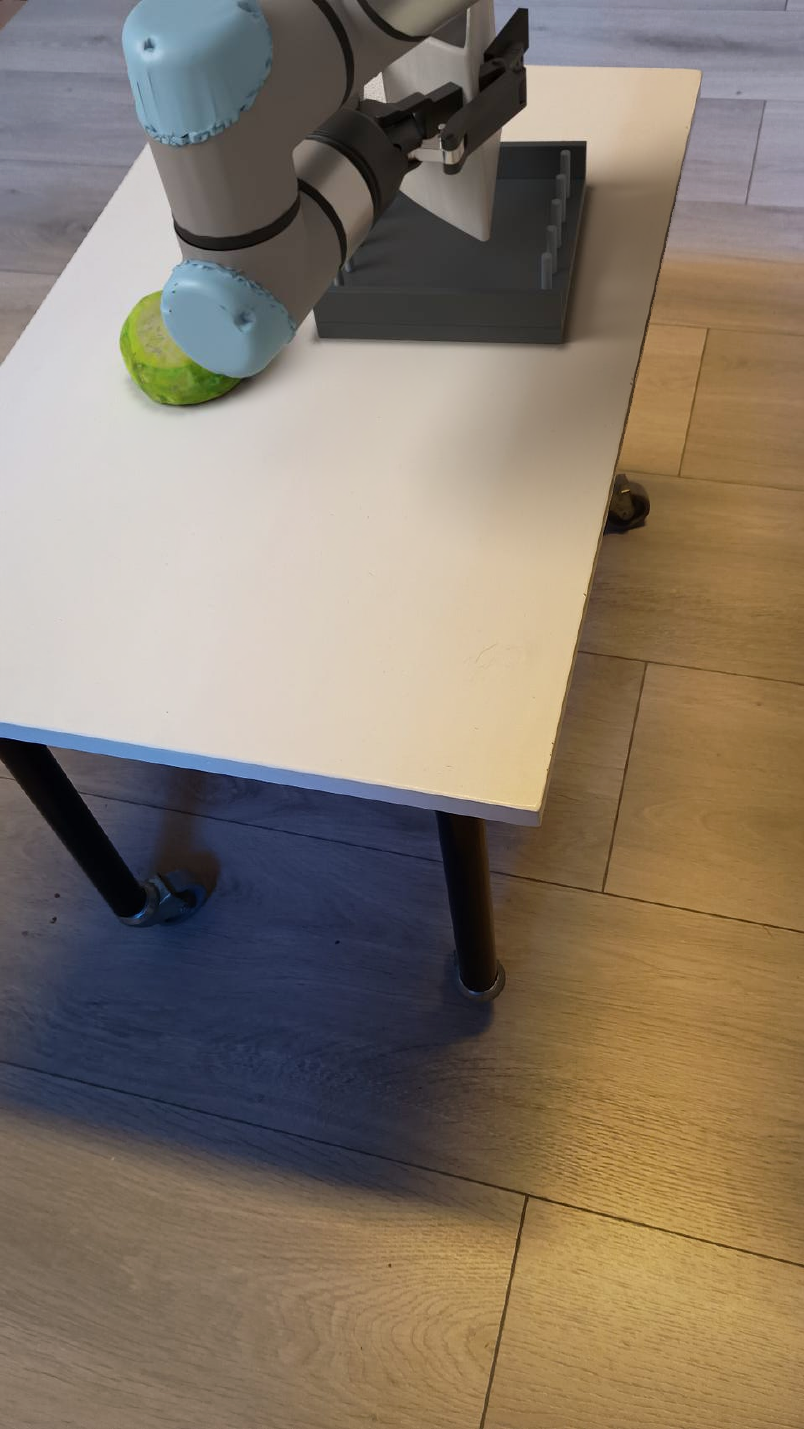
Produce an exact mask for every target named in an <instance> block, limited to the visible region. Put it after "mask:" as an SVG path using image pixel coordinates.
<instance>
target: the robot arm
mask: <svg viewBox="0 0 804 1429" xmlns="http://www.w3.org/2000/svg"><path fill="white" fill-rule="evenodd" d="M478 1H480V0H141V1H139V2H138V3H137V4H136V5H135V6H134V7H133V8H132V10H131V11H130V13H129V14H128V15H127V18H126V20H125V22H124V24H123V27H122V34H121V44H122V50H123V56H124V59H125V64H126V69H127V71H126V72H127V77H128V80H129V83H130V86H131V88H130V89H131V92H132V95H133V99H134V100H133V105H134V108H135V112H136V115H137V119H138V121H139V122H140V124H141V127H142V128H143V132H144V134H145V137H146V139H147V142H148V145H149V148H150V151H151V154H152V158H153V160H154V163H155V166H156V169H157V171H158V174H159V177H160V180H161V184H162V186H163V189H164V192H165V195H166V198H167V201H168V205H169V207H170V213H171V217H172V223H173V224H172V225H173V226H172V227H173V230H174V233H175V236H176V240H177V243H178V246H179V248H180V252H181V256H182V257H181V262H180V263H179V264H176V265H175V266H173V268H172V273H171V274H170V276H169V278H168V280H167V281H166V282H165V284H164V286H162V290H163V291H162V296H161V306H160V309H161V315H162V319H163V322H164V324H165V327H166V329H167V331H168V332H169V334H170V336H171V337H172V339H173V340H174V342H175V343H176V344H177V345H178V347H179V348H180V349H181V350H182V351H183V352H184V353H185V354H186V355H187V356H188V357H189V358H191V359H192V360H193V361H194V362H196V363H197V364H199V365H200V366H202V367H203V368H205V369H207V370H209V371H211V372H213V373H216V374H224V375H226V376H229V377H236V378H242V379H243V378H248V377H252V376H255V375H256V374H259V373H260V372H261V371H263V370H264V369H265V368H267V366H268V365H269V364H270V362H272V360H273V359H274V358H275V357H276V356H277V355H278V354H279V353H280V351H282V350H283V348H284V347H285V346H286V345H288V344H290V343H291V342H292V341H293V340H294V338H295V337H296V334H297V331H298V329H300V328H301V326H302V324H303V323H304V321H305V320H306V319H307V317H308V316H309V314H310V313H311V312H312V311H313V307H314V306H315V305H316V303H317V302H318V301H319V299H320V298H321V297H322V295H323V294H324V293H325V291H326V290H327V288H328V287H329V286H330V284H331V283H332V282H333V280H334V279H335V278H336V276H337V274H338V273H339V272H340V270H342V268H343V267H344V266H345V264H346V263H347V262H348V260H349V259H350V258H351V256H352V255H353V254H354V252H355V251H356V250H357V248H358V247H359V246H360V244H361V243H362V242H363V240H364V239H365V238H366V236H367V234H368V232H369V231H371V230H372V229H373V228H374V226H375V225H376V224H377V222H378V221H379V220H380V218H381V217H382V216H383V214H384V213H385V212H386V210H387V209H388V208H389V206H390V205H391V204H392V202H393V201H394V199H395V197H396V196H397V193H398V191H399V188H400V186H401V183H402V181H403V178H404V176H405V175H406V174H407V173H409V172H410V171H412V170H414V169H416V168H418V167H419V166H420V165H421V164H422V162H423V161H428V162H441V163H443V172H444V173H445V174H447V175H455V174H457V173H459V172H460V171H461V169H462V167H463V165H464V163H465V161H466V159H467V157H468V156H469V155H470V154H471V153H473V152H474V151H475V150H476V149H477V148H478V147H480V146H481V145H482V144H483V143H484V142H485V141H487V140H488V139H489V138H490V137H491V136H492V135H494V134H495V133H496V132H497V131H498V130H499V129H501V128H502V129H503V127H504V126H505V125H506V124H508V123H509V122H510V121H511V120H512V119H514V118H515V117H516V116H517V115H519V113H521V112H522V111H523V110H524V109H525V108H526V107H527V106H528V83H527V81H528V80H527V79H528V78H527V67H526V66H525V61H524V60H525V57H524V56H525V54H526V53H527V51H528V50H529V48H530V33H529V32H530V30H529V29H530V27H529V26H530V24H529V23H530V22H529V8H527V7H518V8H517V9H516V10H515V12H514V13H513V14H512V15H511V17H510V18H509V19H508V21H507V22H506V23H505V24H504V25H503V27H502V28H501V30H500V31H499V32H498V34H496V38H495V39H494V40H493V41H492V43H491V44H490V45H489V47H488V48H487V49H486V51H485V52H484V64H482V65H480V69H479V77H478V80H479V92H480V94H478V95H477V96H476V97H475V98H474V99H472V100H471V101H470V102H469V103H467V104H466V105H465V106H464V107H463V93H462V87H461V86H459V85H457V84H455V83H453V82H451V81H450V82H448V83H447V84H445V85H443V86H441V87H439V88H437V89H435V90H434V91H432V92H430V93H428V94H426V95H424V94H422V93H420V92H415V93H413V94H411V95H410V96H408V97H406V98H404V99H402V100H400V101H398V102H396V103H386V102H384V101H381V100H377V99H373V98H372V99H371V98H368V99H365V100H364V97H365V86H366V85H368V83H370V82H371V81H372V80H374V78H377V77H378V76H379V74H381V71H383V70H384V69H385V68H387V67H388V66H389V65H390V64H392V63H393V62H395V61H396V60H397V59H399V58H400V57H402V56H403V55H405V54H406V53H407V52H409V51H410V50H412V49H413V48H415V47H416V46H417V45H419V44H420V43H422V42H423V41H425V40H426V39H427V38H429V37H430V36H431V35H432V34H433V33H434V32H435V31H437V30H438V29H440V28H441V27H442V26H444V25H445V24H447V23H448V22H450V21H451V20H453V19H454V18H455V17H457V16H458V15H460V14H461V13H463V12H464V11H465V10H467V9H468V8H470V7H471V6H473V5H474V4H476V3H477V2H478ZM413 113H414V114H415V117H414V115H413Z"/></svg>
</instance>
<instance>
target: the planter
mask: <svg viewBox="0 0 804 1429" xmlns="http://www.w3.org/2000/svg"><path fill="white" fill-rule="evenodd" d="M496 36H497V34H496V19H495V3H494V0H480V1H478V2H477V3H476V4H474V5H473V6H471V7H470V8H468V9H467V10H465V11H464V12H463V13H461V14H460V15H458V16H457V17H455V18H454V19H453V20H451V21H450V22H448V23H447V24H445V25H444V26H442V27H441V28H440V29H438V30H437V31H435V32H434V33H433V34H432V35H431V36H430V37H429V38H427V39H426V40H425V41H423V42H422V43H420V44H419V45H417V46H416V47H415V48H413V49H412V50H410V51H409V52H407V53H406V54H405V55H403V56H402V57H400V58H399V59H397V60H396V61H395V62H393V63H392V64H390V65H389V66H388V67H387V68H385V69H384V70H383V71H381V72H380V74H381V78H382V84H383V85H382V86H383V91H384V98H385V103H396V102H398V101H400V100H402V99H404V98H406V97H408V96H410V95H411V94H413V93H415V92H420V93H422V94H424V95H426V94H428V93H430V92H432V91H434V90H435V89H437V88H439V87H441V86H443V85H445V84H447V83H448V82H450V81H451V82H453V83H455V84H457V85H459V86H461V87H462V93H463V107H464V106H465V105H466V104H467V103H469V102H470V101H471V100H472V99H474V98H475V97H476V96H477V95H478V94H480V92H479V80H478V77H479V69H480V65H482V64H484V52H485V51H486V49H487V48H488V47H489V45H490V44H491V43H492V41H493V40H494V39H495V38H496ZM413 115H414V117H415V114H414V113H413ZM502 131H503V127H502V128H501V129H499V130H498V131H497V132H496V133H495V134H494V135H492V136H491V137H490V138H489V139H488V140H487V141H485V142H484V143H483V144H482V145H481V146H480V147H478V148H477V149H476V150H475V151H474V152H473V153H471V154H470V155H469V156H468V157H467V159H466V161H465V163H464V165H463V167H462V169H461V171H460V172H459V173H457V174H455V175H447V174H445V173H444V172H443V163H441V162H428V161H423V162H422V164H421V165H420V166H419V167H418V168H416V169H414V170H412V171H410V172H409V173H407V174H406V175H405V176H404V178H403V181H402V183H401V186H400V188H399V190H400V191H402V192H403V193H404V194H406V195H407V196H408V197H409V198H411V199H412V200H413V201H415V202H416V203H417V204H419V205H421V206H422V207H424V208H425V209H427V210H429V211H430V212H432V213H433V214H435V215H436V216H438V217H440V218H441V219H443V220H445V221H446V222H448V223H450V224H452V225H453V226H455V227H457V228H459V229H460V230H462V231H464V232H466V233H467V234H469V235H471V236H473V237H475V238H476V239H478V240H480V241H483V242H484V241H487V240H488V239H489V237H490V228H491V219H492V210H493V201H494V192H495V183H496V175H497V166H498V157H499V148H500V142H501V137H502V133H503V132H502Z"/></svg>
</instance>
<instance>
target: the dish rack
mask: <svg viewBox="0 0 804 1429" xmlns="http://www.w3.org/2000/svg"><path fill="white" fill-rule="evenodd" d="M587 156H588V141H587V140H530V141H529V140H524V141H523V140H522V141H521V140H519V141H517V140H515V141H512V140H511V141H508V140H507V141H500V148H499V157H498V166H497V175H496V183H495V192H494V201H493V210H492V219H491V228H490V237H489V239H488V240H487V241H484V242H483V241H480V240H478V239H476V238H475V237H473V236H471V235H469V234H467V233H466V232H464V231H462V230H460V229H459V228H457V227H455V226H453V225H452V224H450V223H448V222H446V221H445V220H443V219H441V218H440V217H438V216H436V215H435V214H433V213H432V212H430V211H429V210H427V209H425V208H424V207H422V206H421V205H419V204H417V203H416V202H415V201H413V200H412V199H411V198H409V197H408V196H407V195H406V194H404V193H403V192H402V191H400V190H399V191H398V193H397V196H396V197H395V199H394V201H393V202H392V204H391V205H390V206H389V208H388V209H387V210H386V212H385V213H384V214H383V216H382V217H381V218H380V220H379V221H378V222H377V224H376V225H375V226H374V228H373V229H372V230H371V231H369V232H368V234H367V236H366V238H365V239H364V240H363V242H362V243H361V244H360V246H359V247H358V248H357V250H356V251H355V252H354V254H353V255H352V256H351V258H350V259H349V260H348V262H347V263H346V264H345V266H344V267H343V268H342V270H340V272H339V273H338V274H337V276H336V278H335V279H334V280H333V282H332V283H331V284H330V286H329V287H328V288H327V290H326V291H325V293H324V294H323V295H322V297H321V298H320V299H319V301H318V302H317V303H316V305H315V306H314V307H313V309H312V313H313V317H314V321H315V327H316V331H317V336H318V338H320V339H321V338H324V339H327V338H328V339H365V340H399V341H400V340H402V341H403V340H404V341H405V340H406V341H441V342H444V341H445V342H476V343H478V342H480V343H518V344H519V343H521V344H557V345H559V344H560V345H561V343H562V340H563V339H562V338H563V333H564V327H565V320H566V314H567V308H568V304H569V303H568V301H569V295H570V290H571V284H572V283H571V282H572V277H573V272H574V265H575V259H576V252H577V246H578V241H579V233H580V227H581V221H582V215H583V209H584V202H585V198H586V197H585V196H586V191H587V187H586V186H587V159H588V158H587Z"/></svg>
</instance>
